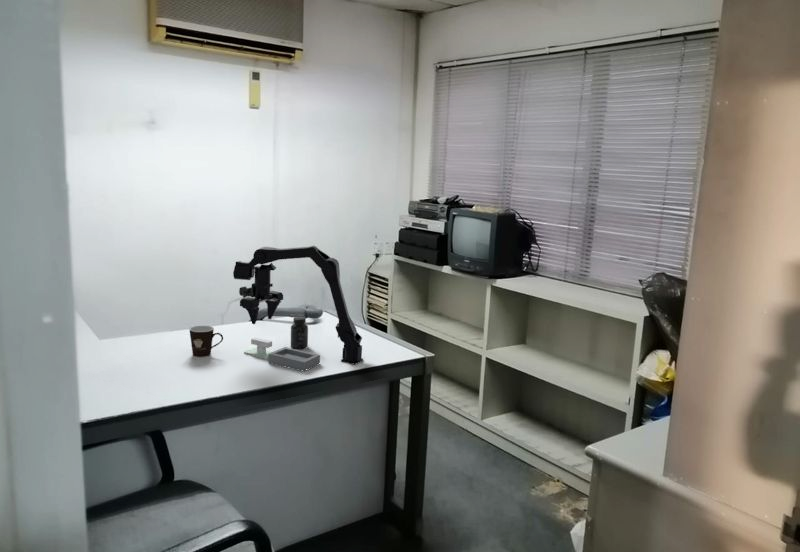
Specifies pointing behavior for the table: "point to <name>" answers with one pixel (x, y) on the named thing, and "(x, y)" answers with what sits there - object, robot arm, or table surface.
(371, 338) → the table surface
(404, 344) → the table surface
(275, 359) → the case
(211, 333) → the coffee mug
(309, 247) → the robot arm
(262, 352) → the cover
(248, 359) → the table surface
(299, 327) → the supplement bottle
